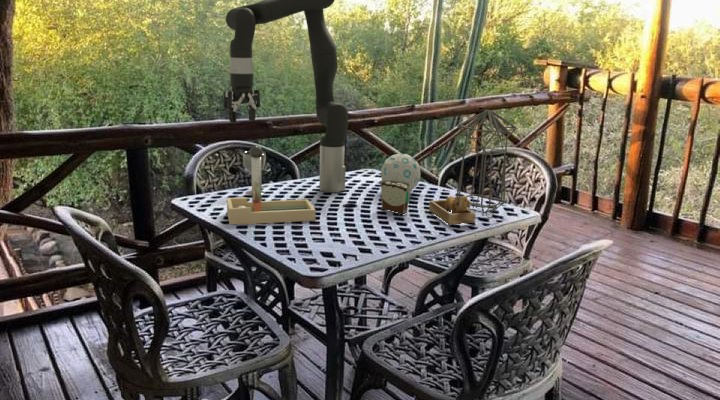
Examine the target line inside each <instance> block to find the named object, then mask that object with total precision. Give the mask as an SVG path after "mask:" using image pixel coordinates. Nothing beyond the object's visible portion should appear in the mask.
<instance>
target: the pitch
mask: <svg viewBox="0 0 720 400" xmlns="http://www.w3.org/2000/svg"><path fill="white" fill-rule="evenodd" d="M261 203H262V211H260V212H253V205H252V201H249V200H248V197H229V198H228V197H227V198H226V213H227V218H228V225H229V224H237V225H250V224H253V225H255V224H272V223H273V224H274V223H292V222H293V223H294V222H310V221H311V222H312V221H313V222H314V221H316V209H315V207H314V206H313V204H312V203H311V201H310V200H309V199H306V198H305V199H286V200H285V199H284V200H283V199H282V200H262V201H261ZM239 206H245V207H244V208H238V207H239Z"/></svg>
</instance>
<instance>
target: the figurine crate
mask: <svg viewBox="0 0 720 400" xmlns="http://www.w3.org/2000/svg"><path fill="white" fill-rule="evenodd" d="M445 202H446V199H445V200H444V199H441V200H440V199H439V200H429V208H428V212H429V211H431V212H432V213H434V214H435V215H436V216H438V217H439V218H441V219H442V220H443V221H445V222H446V223H448V224H449V225H452V224H461V223H474V224H475V223H476V222H475V221H476V217H475V216H476V213H475V212H474V211H473V210H469V209H467V210H465V211H464V212H463V213H456V214H451V213H449V212H448V211H447V210H449V207H448V209H447V210H445Z"/></svg>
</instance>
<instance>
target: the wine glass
mask: <svg viewBox="0 0 720 400" xmlns="http://www.w3.org/2000/svg"><path fill="white" fill-rule="evenodd" d="M242 154H243V163H244V167H245V169H246V170H247V172H249V174H250V175H251V176H252V167H251V156H250V150H248V151H243V153H242ZM266 158H267V157H266V152H265V151H263V154H262V156H261V172H262V171H263V170H264V168H265V165H266ZM244 193H245V194H246V195H249V196H252V189H251V190H247V191H245V192H244ZM262 195H265V191H264V190H262Z"/></svg>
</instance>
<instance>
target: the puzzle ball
mask: <svg viewBox="0 0 720 400" xmlns="http://www.w3.org/2000/svg"><path fill="white" fill-rule="evenodd" d="M421 175H422V174H421V169H420V164H419V163H418V162H417V160H416V159H415V158H414V157H413V156H411V155H410V154H407V153H396V154H393V155H390V156H389V157H388V158H387V159H386V160H384V161H383V164H382V166H381V169H380V177H381V180H402V181H406V182H409V183H410V184H411V187H412V190H414V189H415V188H416V187H417V186H418V184H419V182H420V179H421Z"/></svg>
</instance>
